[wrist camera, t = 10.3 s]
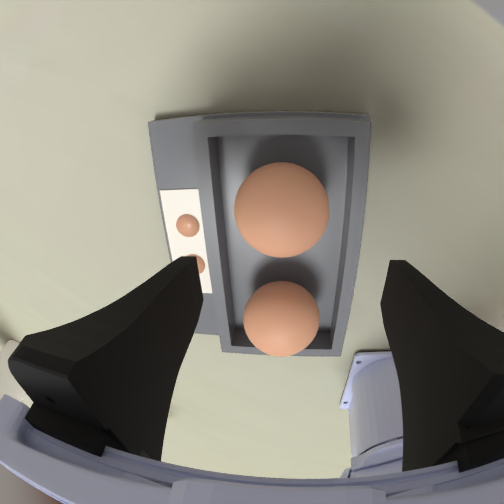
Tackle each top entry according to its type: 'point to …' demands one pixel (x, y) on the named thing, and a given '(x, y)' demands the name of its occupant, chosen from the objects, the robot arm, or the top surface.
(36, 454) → the robot arm
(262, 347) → the resting terracotta ball
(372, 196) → the top surface
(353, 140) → the grey rimmed tray
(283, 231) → the terracotta ball
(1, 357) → the cylindrical container
